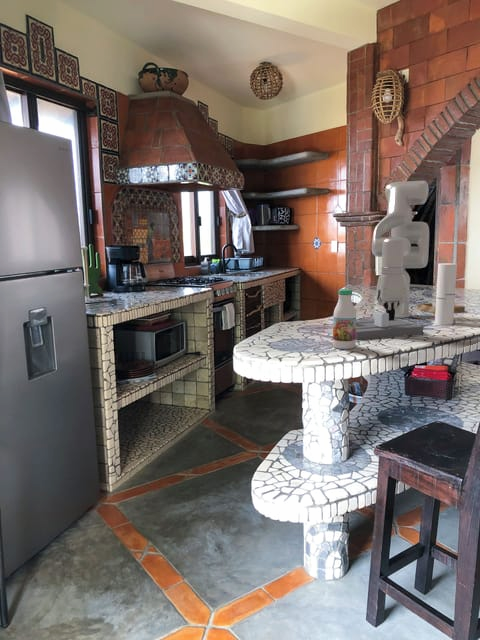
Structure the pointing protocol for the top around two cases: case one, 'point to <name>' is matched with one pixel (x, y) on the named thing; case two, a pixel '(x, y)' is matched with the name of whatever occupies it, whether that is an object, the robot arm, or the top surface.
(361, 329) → the fader console
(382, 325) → the grey fader
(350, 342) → the milk bottle
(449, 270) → the cylindrical container
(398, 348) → the top surface
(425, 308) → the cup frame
